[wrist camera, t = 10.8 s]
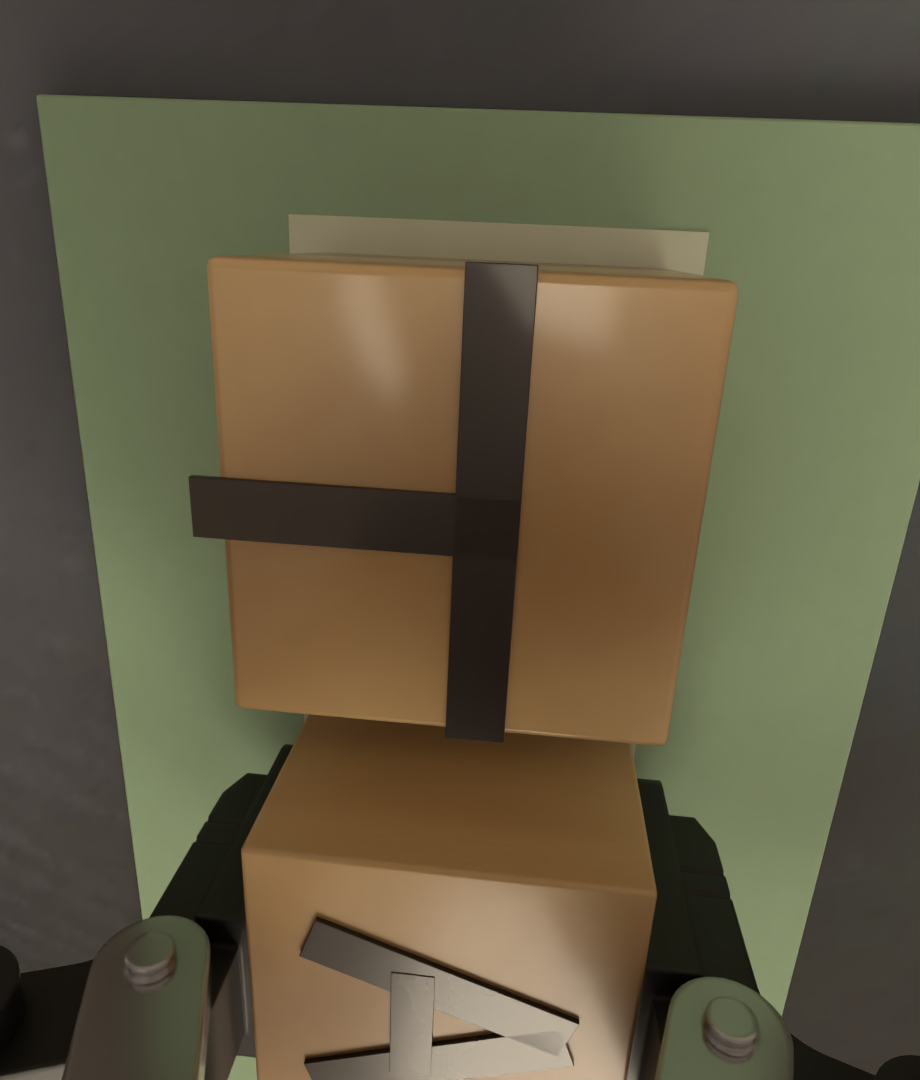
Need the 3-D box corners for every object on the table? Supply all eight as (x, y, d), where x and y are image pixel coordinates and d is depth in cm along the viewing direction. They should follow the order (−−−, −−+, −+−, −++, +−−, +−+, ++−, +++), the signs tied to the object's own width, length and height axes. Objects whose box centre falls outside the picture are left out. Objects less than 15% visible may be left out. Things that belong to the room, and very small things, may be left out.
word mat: (51, 98, 10) (31, 92, 10) (994, 130, 10) (1014, 124, 9) (177, 1117, 18) (168, 1138, 17) (727, 1189, 17) (732, 1213, 16)
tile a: (331, 666, 12) (235, 854, 8) (623, 691, 12) (660, 899, 8) (335, 891, 14) (256, 1134, 10) (593, 919, 14) (612, 1182, 10)
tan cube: (304, 247, 10) (168, 248, 7) (668, 264, 10) (746, 274, 6) (312, 568, 12) (207, 715, 8) (626, 592, 12) (668, 758, 8)
